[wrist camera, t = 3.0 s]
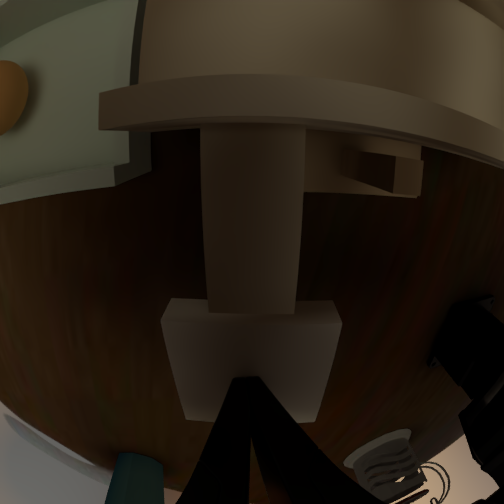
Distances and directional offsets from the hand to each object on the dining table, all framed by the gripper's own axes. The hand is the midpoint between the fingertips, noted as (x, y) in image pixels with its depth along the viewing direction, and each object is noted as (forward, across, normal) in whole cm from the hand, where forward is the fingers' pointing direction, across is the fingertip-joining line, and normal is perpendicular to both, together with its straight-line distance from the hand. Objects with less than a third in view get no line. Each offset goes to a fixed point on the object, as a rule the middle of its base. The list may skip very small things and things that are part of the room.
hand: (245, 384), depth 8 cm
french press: (+6, -18, +26) cm, 32 cm away
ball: (+4, +12, -11) cm, 16 cm away
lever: (+1, -5, -6) cm, 8 cm away
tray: (+6, +9, -11) cm, 16 cm away
